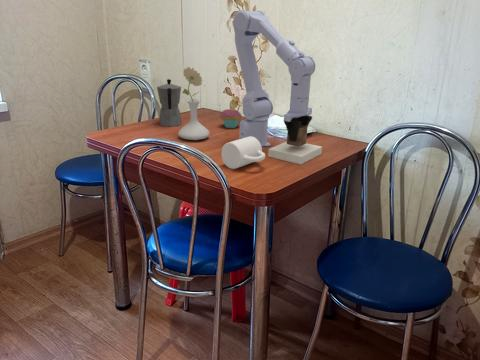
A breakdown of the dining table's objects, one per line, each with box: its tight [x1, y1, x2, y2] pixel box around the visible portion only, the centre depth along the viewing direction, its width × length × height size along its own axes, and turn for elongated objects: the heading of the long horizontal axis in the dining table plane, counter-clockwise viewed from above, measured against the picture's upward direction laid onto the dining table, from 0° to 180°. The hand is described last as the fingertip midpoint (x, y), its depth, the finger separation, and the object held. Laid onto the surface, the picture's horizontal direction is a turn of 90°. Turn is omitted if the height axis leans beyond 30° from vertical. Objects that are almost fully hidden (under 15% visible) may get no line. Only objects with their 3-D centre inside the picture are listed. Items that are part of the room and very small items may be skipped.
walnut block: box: [286, 125, 309, 147], centre depth 136 cm, size 5×5×6 cm
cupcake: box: [219, 99, 242, 129], centre depth 169 cm, size 9×8×12 cm
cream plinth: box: [267, 141, 323, 166], centre depth 138 cm, size 14×12×2 cm
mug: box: [220, 136, 266, 170], centre depth 126 cm, size 12×10×8 cm
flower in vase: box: [177, 66, 211, 141], centre depth 150 cm, size 13×11×25 cm
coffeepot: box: [156, 78, 183, 128], centre depth 168 cm, size 15×9×18 cm, turn 9°
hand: (296, 139), depth 137 cm, fingers closed on walnut block, 4 cm apart
